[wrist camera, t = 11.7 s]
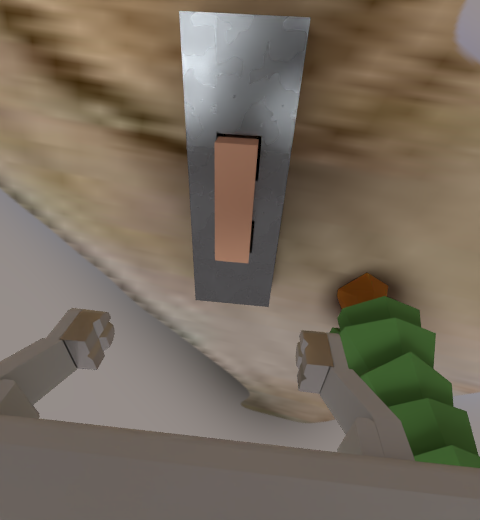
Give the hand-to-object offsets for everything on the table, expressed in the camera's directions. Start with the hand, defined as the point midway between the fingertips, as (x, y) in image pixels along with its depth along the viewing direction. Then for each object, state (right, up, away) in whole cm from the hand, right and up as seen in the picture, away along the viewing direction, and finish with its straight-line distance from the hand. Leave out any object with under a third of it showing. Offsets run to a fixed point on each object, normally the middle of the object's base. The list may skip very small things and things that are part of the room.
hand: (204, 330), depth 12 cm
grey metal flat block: (+2, +10, +15) cm, 19 cm away
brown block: (+2, +10, +15) cm, 19 cm away
